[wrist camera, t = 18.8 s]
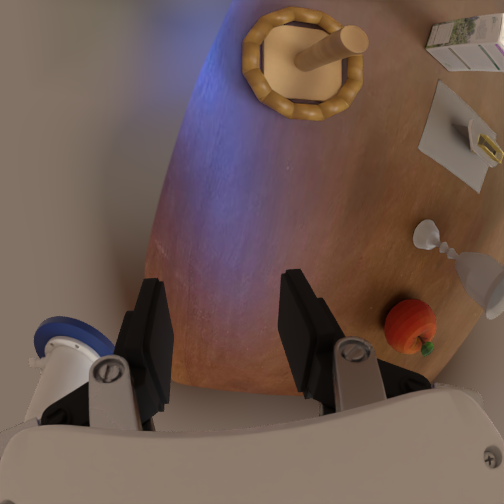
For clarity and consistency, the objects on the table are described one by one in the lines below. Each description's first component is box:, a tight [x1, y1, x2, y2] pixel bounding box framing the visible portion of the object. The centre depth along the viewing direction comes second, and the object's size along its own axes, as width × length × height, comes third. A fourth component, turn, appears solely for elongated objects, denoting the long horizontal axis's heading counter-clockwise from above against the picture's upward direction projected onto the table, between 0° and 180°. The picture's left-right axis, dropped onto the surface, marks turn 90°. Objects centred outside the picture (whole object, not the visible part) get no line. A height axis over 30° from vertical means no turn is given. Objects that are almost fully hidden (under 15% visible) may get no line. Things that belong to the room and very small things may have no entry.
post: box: [262, 25, 369, 102], centre depth 21 cm, size 9×9×13 cm
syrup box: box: [425, 13, 504, 72], centre depth 20 cm, size 6×6×14 cm
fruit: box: [384, 299, 436, 357], centre depth 42 cm, size 10×10×10 cm
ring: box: [242, 6, 363, 121], centre depth 25 cm, size 14×14×2 cm
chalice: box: [413, 219, 504, 319], centre depth 32 cm, size 7×7×18 cm
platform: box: [418, 80, 504, 193], centre depth 31 cm, size 12×18×7 cm, turn 72°
